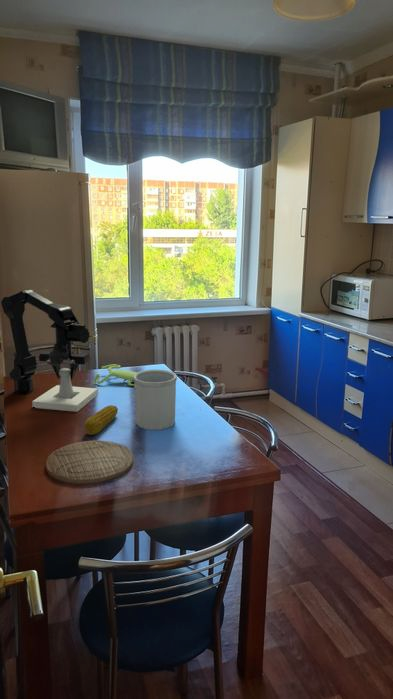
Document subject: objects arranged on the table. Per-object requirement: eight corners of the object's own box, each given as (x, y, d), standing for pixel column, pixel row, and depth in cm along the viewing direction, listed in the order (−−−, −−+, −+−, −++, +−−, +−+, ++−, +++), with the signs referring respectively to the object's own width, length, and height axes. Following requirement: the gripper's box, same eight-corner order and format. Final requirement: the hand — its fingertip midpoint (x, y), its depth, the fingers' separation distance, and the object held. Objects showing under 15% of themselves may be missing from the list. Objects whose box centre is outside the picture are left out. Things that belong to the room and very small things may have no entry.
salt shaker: (76, 398, 203) (74, 367, 200) (71, 403, 198) (70, 371, 194) (61, 398, 204) (59, 366, 200) (56, 402, 198) (55, 370, 195)
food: (97, 438, 167) (97, 421, 166) (81, 436, 168) (80, 420, 167) (121, 415, 187) (120, 400, 186) (106, 414, 188) (106, 398, 187)
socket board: (32, 407, 193) (32, 401, 192) (57, 390, 212) (56, 385, 211) (77, 411, 189) (76, 405, 189) (98, 394, 208) (97, 388, 208)
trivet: (40, 453, 156) (40, 448, 156) (120, 440, 166) (120, 435, 166) (53, 493, 134) (53, 486, 134) (144, 475, 144) (144, 469, 144)
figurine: (105, 373, 238) (105, 361, 237) (159, 378, 231) (159, 367, 230) (87, 385, 221) (86, 372, 220) (144, 391, 214) (144, 378, 213)
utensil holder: (170, 433, 172) (170, 383, 168) (128, 428, 175) (127, 380, 171) (180, 417, 186) (181, 371, 182) (141, 413, 189) (141, 368, 185)
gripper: (30, 343, 189) (32, 383, 192) (77, 346, 185) (79, 387, 189) (44, 336, 199) (47, 374, 203) (89, 339, 196) (91, 378, 199)
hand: (65, 378), depth 198 cm, fingers open, 5 cm apart
